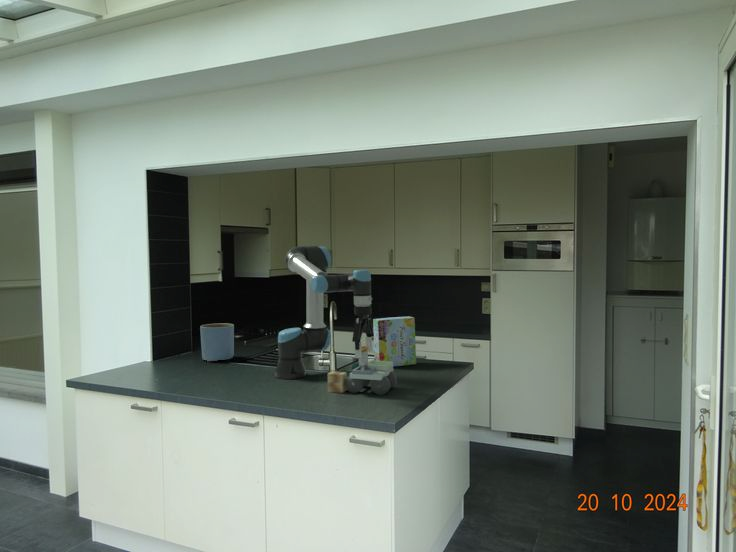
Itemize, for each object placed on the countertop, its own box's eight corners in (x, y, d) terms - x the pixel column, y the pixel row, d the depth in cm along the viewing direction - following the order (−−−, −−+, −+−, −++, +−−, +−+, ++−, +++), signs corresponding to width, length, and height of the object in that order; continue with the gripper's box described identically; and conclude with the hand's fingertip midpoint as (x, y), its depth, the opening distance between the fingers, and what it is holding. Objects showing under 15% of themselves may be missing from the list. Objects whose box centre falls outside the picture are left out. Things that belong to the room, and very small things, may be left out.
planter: (204, 356, 328) (203, 323, 327) (236, 355, 330) (235, 322, 329) (198, 363, 309) (197, 328, 308) (232, 361, 311) (231, 327, 310)
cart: (342, 393, 236) (342, 369, 236) (357, 384, 253) (357, 361, 253) (386, 397, 230) (386, 372, 229) (398, 386, 247) (398, 363, 246)
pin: (357, 373, 235) (356, 348, 235) (360, 370, 240) (359, 346, 239) (367, 373, 234) (366, 348, 233) (370, 371, 239) (369, 346, 238)
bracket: (370, 377, 267) (370, 361, 266) (363, 380, 261) (363, 364, 261) (339, 374, 276) (339, 358, 275) (332, 377, 270) (331, 361, 269)
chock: (327, 391, 240) (327, 373, 240) (332, 389, 245) (331, 371, 245) (342, 392, 238) (342, 374, 238) (346, 390, 243) (346, 372, 243)
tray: (362, 370, 241) (362, 364, 241) (370, 365, 251) (370, 360, 251) (386, 371, 238) (386, 365, 238) (393, 366, 247) (393, 361, 247)
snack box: (409, 362, 302) (409, 315, 301) (416, 364, 294) (416, 317, 293) (373, 365, 294) (372, 318, 293) (379, 368, 286) (378, 319, 285)
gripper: (360, 308, 223) (361, 360, 223) (380, 303, 246) (381, 349, 247) (343, 308, 225) (345, 359, 226) (364, 302, 249) (365, 349, 249)
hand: (363, 354), depth 236 cm, fingers open, 13 cm apart
